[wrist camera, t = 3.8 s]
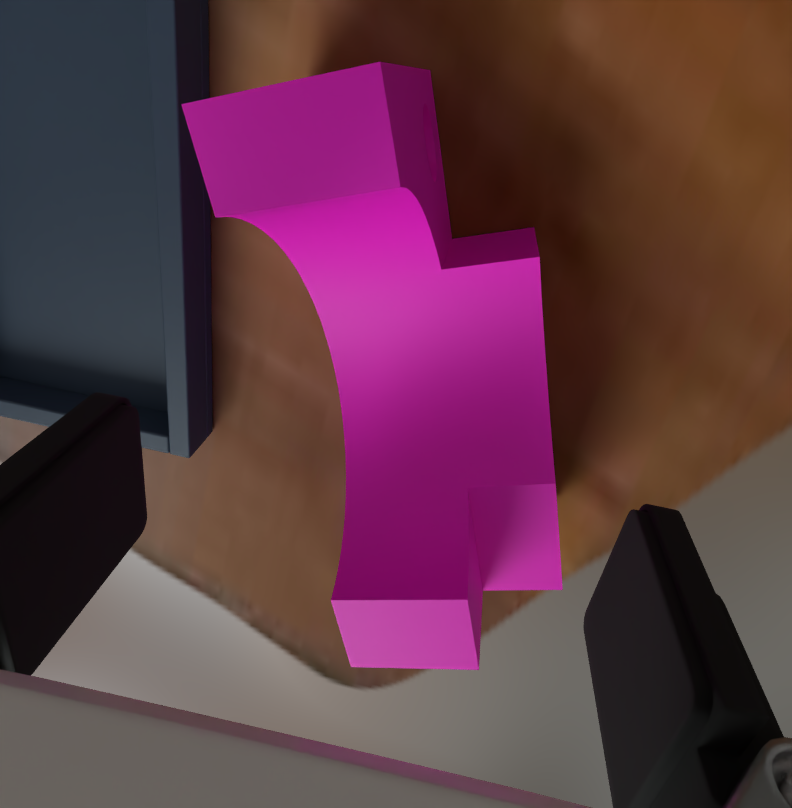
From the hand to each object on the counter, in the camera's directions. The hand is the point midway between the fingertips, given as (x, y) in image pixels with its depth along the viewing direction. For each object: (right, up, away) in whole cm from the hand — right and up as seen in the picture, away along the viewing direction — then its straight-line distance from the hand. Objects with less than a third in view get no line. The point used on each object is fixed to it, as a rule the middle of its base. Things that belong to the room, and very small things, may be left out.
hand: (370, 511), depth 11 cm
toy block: (+2, +5, +9) cm, 10 cm away
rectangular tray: (-10, +10, +8) cm, 16 cm away
